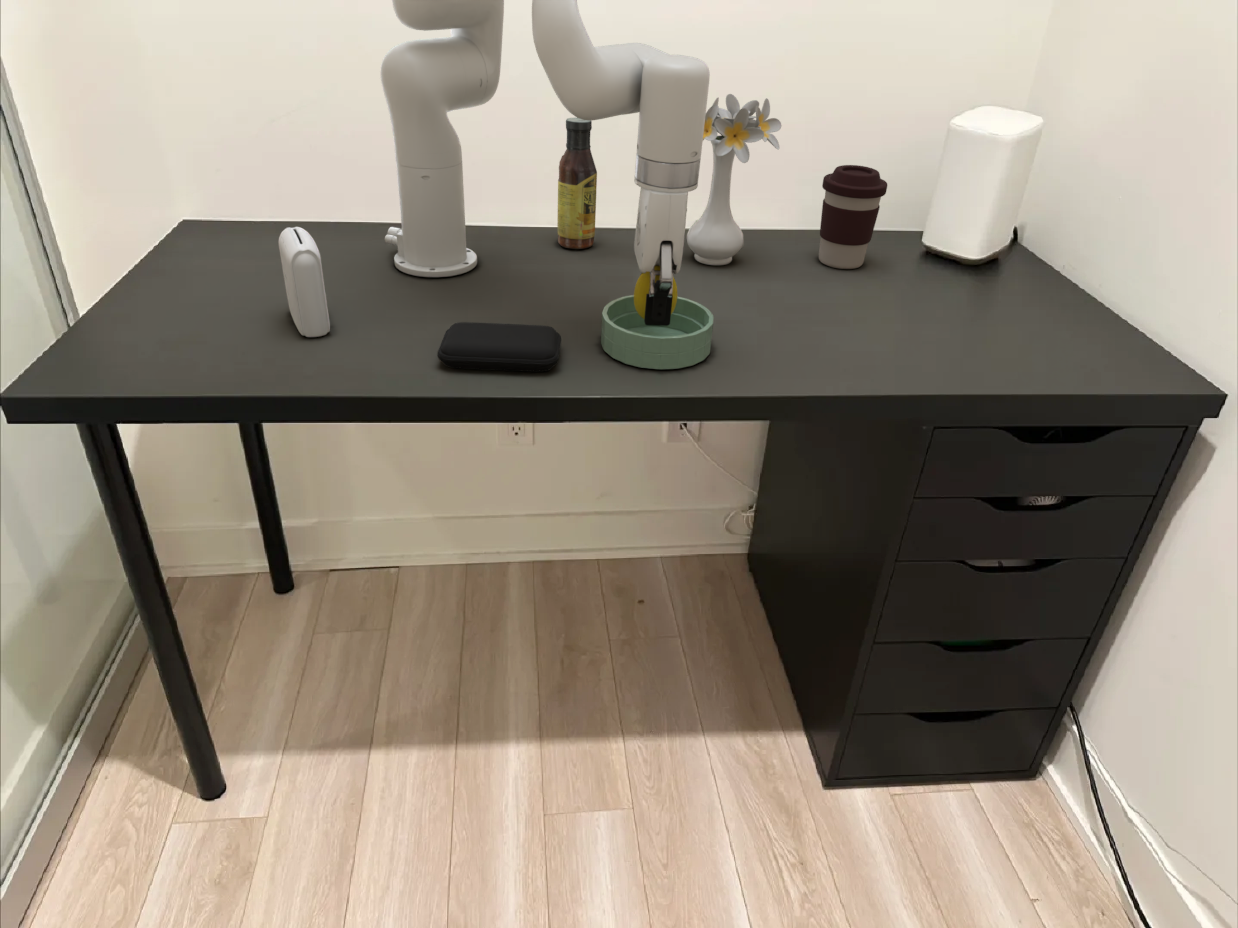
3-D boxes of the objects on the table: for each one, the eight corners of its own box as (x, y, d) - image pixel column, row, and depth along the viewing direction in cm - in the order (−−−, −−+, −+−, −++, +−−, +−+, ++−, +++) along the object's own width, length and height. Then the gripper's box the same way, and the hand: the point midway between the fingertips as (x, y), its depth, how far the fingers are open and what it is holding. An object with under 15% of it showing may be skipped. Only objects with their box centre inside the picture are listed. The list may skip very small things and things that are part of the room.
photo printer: (287, 310, 120) (272, 220, 114) (319, 306, 122) (306, 217, 115) (299, 340, 113) (284, 246, 106) (334, 336, 114) (321, 242, 108)
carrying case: (562, 340, 117) (449, 335, 116) (562, 318, 115) (448, 313, 115) (557, 377, 108) (435, 372, 107) (557, 354, 106) (433, 349, 106)
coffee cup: (879, 260, 149) (898, 169, 140) (858, 277, 141) (877, 182, 133) (823, 248, 153) (838, 158, 145) (800, 263, 146) (815, 170, 138)
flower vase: (645, 248, 149) (655, 88, 135) (750, 245, 152) (770, 89, 139) (664, 276, 138) (677, 106, 124) (776, 272, 141) (800, 106, 128)
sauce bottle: (589, 252, 145) (593, 125, 135) (552, 248, 146) (553, 122, 136) (598, 240, 151) (602, 117, 140) (562, 236, 152) (564, 113, 141)
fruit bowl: (582, 354, 113) (583, 322, 111) (629, 316, 124) (630, 286, 122) (685, 380, 108) (689, 347, 106) (725, 338, 119) (728, 307, 117)
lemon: (644, 336, 112) (649, 276, 107) (624, 319, 116) (628, 260, 111) (682, 330, 114) (688, 271, 110) (660, 313, 118) (666, 255, 114)
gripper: (628, 150, 111) (619, 287, 121) (642, 191, 97) (631, 342, 107) (688, 153, 112) (674, 288, 122) (710, 194, 97) (692, 344, 107)
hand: (654, 312), depth 114 cm, fingers closed on lemon, 5 cm apart
